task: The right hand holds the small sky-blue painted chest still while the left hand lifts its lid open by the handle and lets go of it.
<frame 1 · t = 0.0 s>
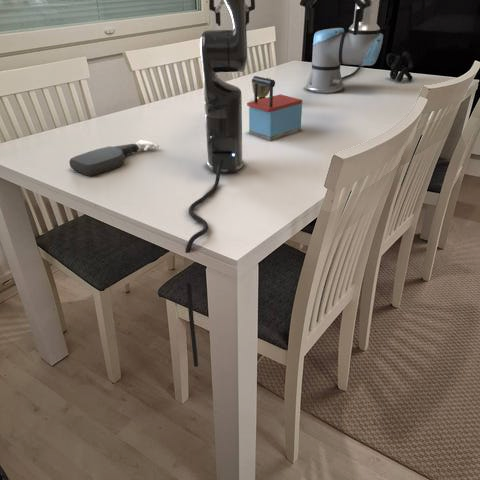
left hand: (232, 25, 142), 29 cm above the table, tool pointing down, fingers open, 8 cm apart
right hand: (332, 33, 132), 28 cm above the table, tool pointing down, fingers open, 13 cm apart
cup: (261, 100, 175), on the table
lid: (275, 90, 136), point 13 cm above the table, hinge at 0.0°
squiggle: (399, 80, 200), on the table
chest: (275, 131, 143), on the table
wireless presentation dongle: (117, 159, 125), on the table
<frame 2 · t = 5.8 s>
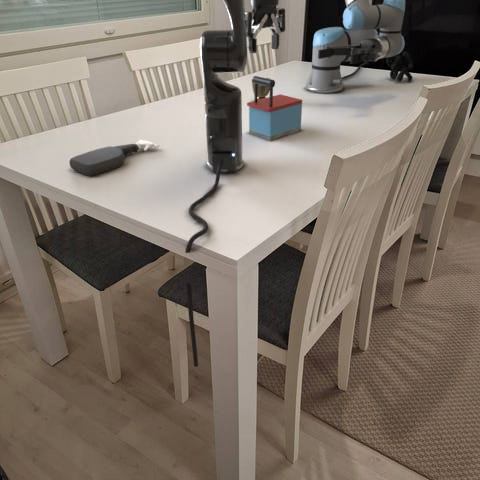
left hand: (264, 50, 127), 25 cm above the table, tool pointing down, fingers open, 8 cm apart
right hand: (334, 56, 148), 19 cm above the table, tool horizontal, fingers open, 13 cm apart
nothing on the table moved.
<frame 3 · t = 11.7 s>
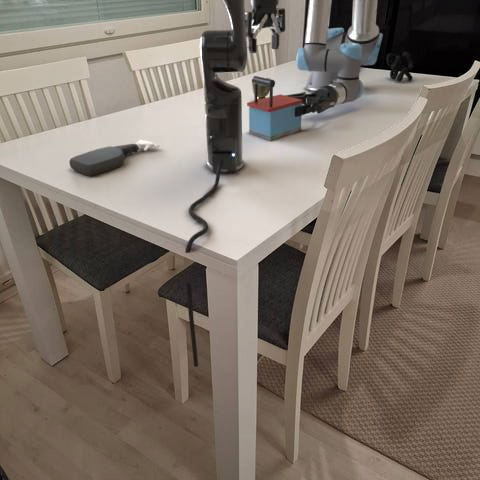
left hand: (264, 50, 127), 25 cm above the table, tool pointing down, fingers open, 8 cm apart
right hand: (283, 108, 142), 7 cm above the table, tool horizontal, fingers closed on chest, 10 cm apart
chest: (275, 131, 143), on the table, touching right hand
everything else where it was.
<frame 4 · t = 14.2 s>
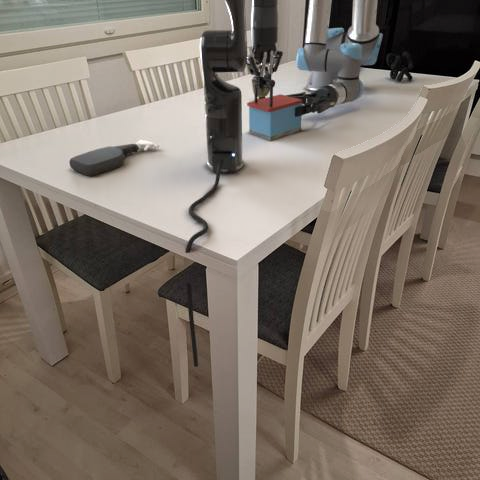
left hand: (263, 88, 132), 14 cm above the table, tool pointing down, fingers closed on lid, 2 cm apart
right hand: (283, 108, 142), 7 cm above the table, tool horizontal, fingers closed on chest, 10 cm apart
lid: (275, 90, 136), point 13 cm above the table, hinge at -0.1°, touching left hand
chest: (275, 131, 143), on the table, touching right hand
everything else where it was.
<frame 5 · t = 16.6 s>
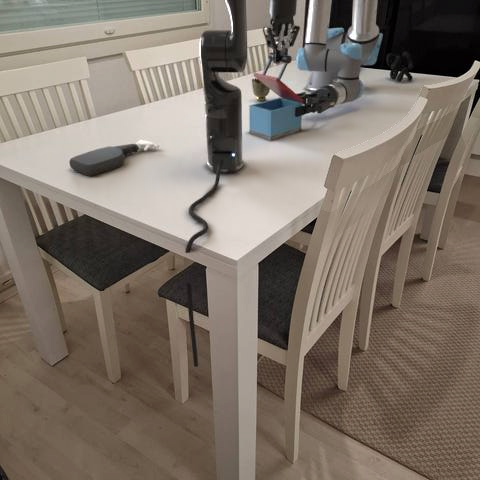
left hand: (279, 62, 133), 21 cm above the table, tool pointing down, fingers closed on lid, 2 cm apart
right hand: (284, 108, 142), 7 cm above the table, tool horizontal, fingers closed on chest, 10 cm apart
lid: (284, 76, 136), point 17 cm above the table, hinge at 35.8°, touching left hand
chest: (275, 131, 143), on the table, touching right hand
everything else where it was.
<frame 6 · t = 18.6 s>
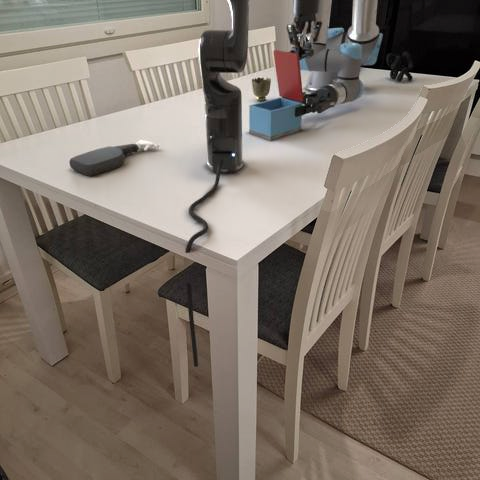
left hand: (302, 58, 138), 21 cm above the table, tool pointing down, fingers open, 3 cm apart
right hand: (284, 108, 142), 7 cm above the table, tool horizontal, fingers closed on chest, 10 cm apart
lid: (297, 71, 139), point 17 cm above the table, hinge at 76.8°
chest: (275, 131, 143), on the table, touching right hand
everything else where it was.
when the right hand's fingers open (7 cm above the table, at t = 22.4 s): chest stays where it is, on the table.
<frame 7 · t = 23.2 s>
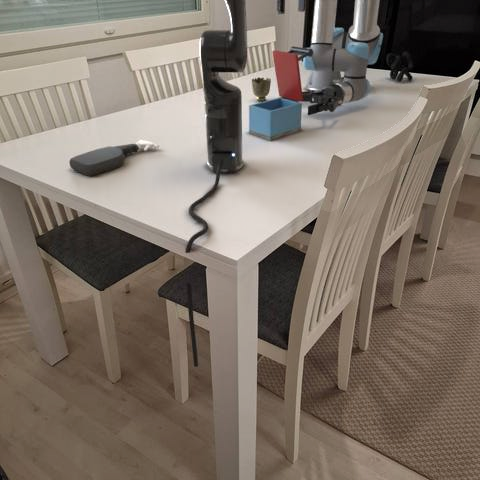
left hand: (291, 12, 128), 34 cm above the table, tool pointing down, fingers open, 8 cm apart
right hand: (293, 106, 144), 7 cm above the table, tool horizontal, fingers open, 13 cm apart
lid: (296, 71, 139), point 17 cm above the table, hinge at 75.7°
chest: (274, 131, 143), on the table
everything else where it was.
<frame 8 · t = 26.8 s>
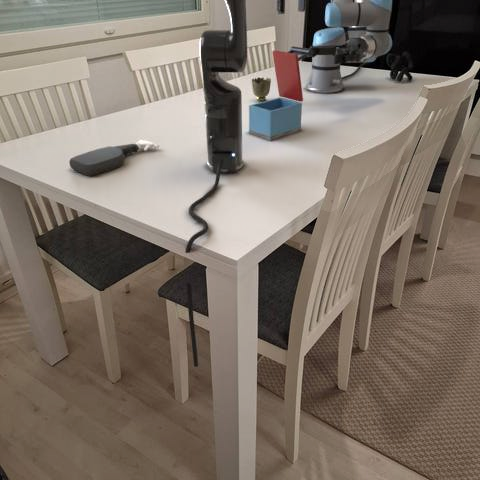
left hand: (291, 12, 128), 34 cm above the table, tool pointing down, fingers open, 8 cm apart
right hand: (318, 56, 143), 20 cm above the table, tool horizontal, fingers open, 13 cm apart
nothing on the table moved.
at the end: lid at +76° (first picture: +0°); the left hand is holding nothing; the right hand is holding nothing; chest tilted 0°; chest never tilted more than 1° during the clip; chest moved 0.0 cm from its start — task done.
